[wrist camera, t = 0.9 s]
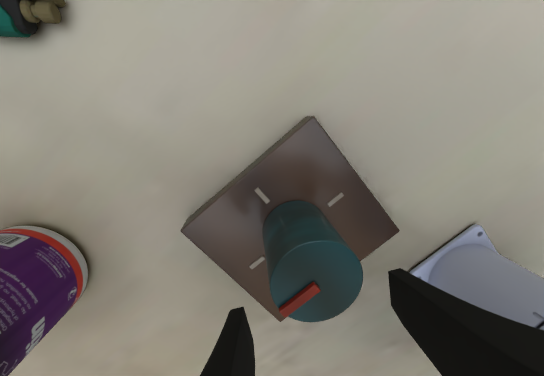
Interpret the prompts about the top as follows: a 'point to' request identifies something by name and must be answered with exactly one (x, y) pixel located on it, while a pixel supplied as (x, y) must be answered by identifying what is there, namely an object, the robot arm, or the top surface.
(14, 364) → the pill bottle
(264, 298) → the stand
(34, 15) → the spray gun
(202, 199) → the top surface
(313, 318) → the jar
